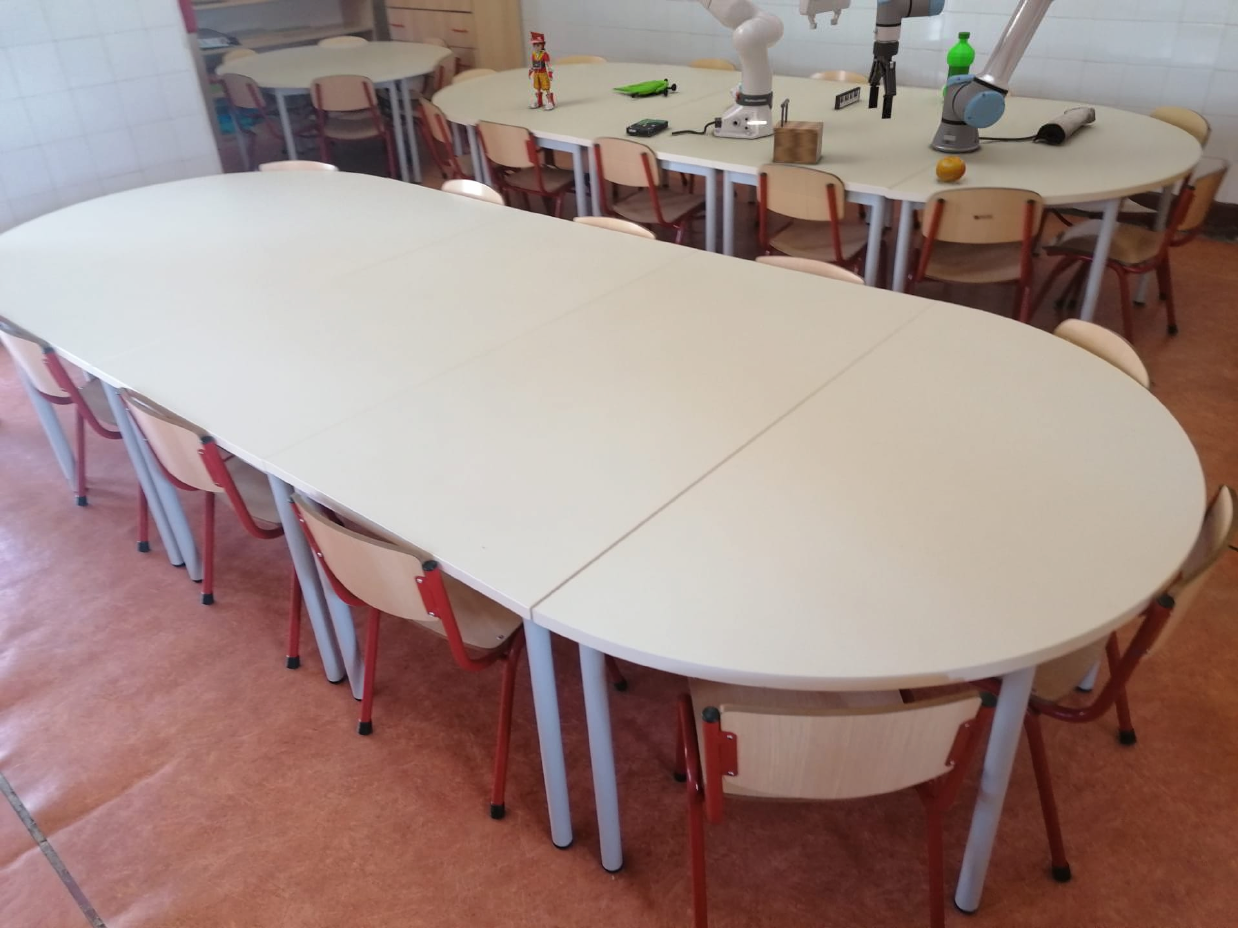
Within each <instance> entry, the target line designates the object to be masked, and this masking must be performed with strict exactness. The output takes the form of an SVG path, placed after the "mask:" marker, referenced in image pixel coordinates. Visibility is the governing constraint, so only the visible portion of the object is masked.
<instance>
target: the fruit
mask: <svg viewBox="0 0 1238 928" xmlns="http://www.w3.org/2000/svg"><path fill="white" fill-rule="evenodd" d="M966 171H967V165H966V163H965V161H964V160H963V159H962V158H960V157H958V156H953V155H952V156H951V155H949V156H945V157H943V158H941V159H940V160H939V161H938V162H937V164H936V167H935V175H936V177H937V178H938V179H939V180H940V181H942V182H946V183H954V182H958V181H959V180H960V179H962V178H963V177H964V176H965V173H966Z"/></svg>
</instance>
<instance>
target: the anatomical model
mask: <svg viewBox="0 0 1238 928" xmlns="http://www.w3.org/2000/svg"><path fill="white" fill-rule="evenodd" d="M737 91H742V81H741V82H738V83H737V84H736V86H735V87H731V88H730V89H729V93H730V95H731V96H732V98H733V99H734V102H736V93H737Z"/></svg>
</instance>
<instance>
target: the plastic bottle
mask: <svg viewBox="0 0 1238 928" xmlns="http://www.w3.org/2000/svg"><path fill="white" fill-rule="evenodd" d="M970 36H971V32H970V31H959V32H958V36H957V39H958V42H957V43H956V44H954V45H953V46H952V47H951V48H950V49H949V50H948V52H947V54H946V63H947V64H948V69H947V70H948V71H947V76H946V77H947V78H946V81H947V80H948V78H949V77H951V76H955V75H969V73H970V67H971V65H972V64H973V63H974V61H975V57H976V51H975V49H974V47H972V45H971V44H970V43H969V42H968V41H969V39H970V38H971V37H970ZM945 87H946V84H945V85H944V87H943V90H942V97H943V98H944V96H945Z"/></svg>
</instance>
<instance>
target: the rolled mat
mask: <svg viewBox="0 0 1238 928" xmlns="http://www.w3.org/2000/svg"><path fill="white" fill-rule="evenodd" d="M1096 119H1097V118H1096V109H1095V108H1094V107H1087V106H1083V107H1074V108H1069V109H1066V110H1064V112H1063V114H1061V115H1059V116H1057V117H1055V118H1054V119H1052V120H1050V121H1048V122H1046V123H1045V124H1043V125H1042V126H1040V128H1039V129H1038V131H1037V132H1036V134H1035V135H1036V136H1035V138H1033V139H1032V142H1033V143H1035V142H1037V141H1042V140H1043V141H1044V142H1046V143H1047V144H1051V145H1057V146H1059V145H1061V144H1063V143H1064V142H1065V141H1066V140H1067V139H1068V138H1069V137H1070V136H1071V135H1072V134H1073V133H1074V132H1076V131H1077V130H1078V129H1079V128H1081V126H1083V125H1088V124H1093V123H1095V121H1096Z"/></svg>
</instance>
